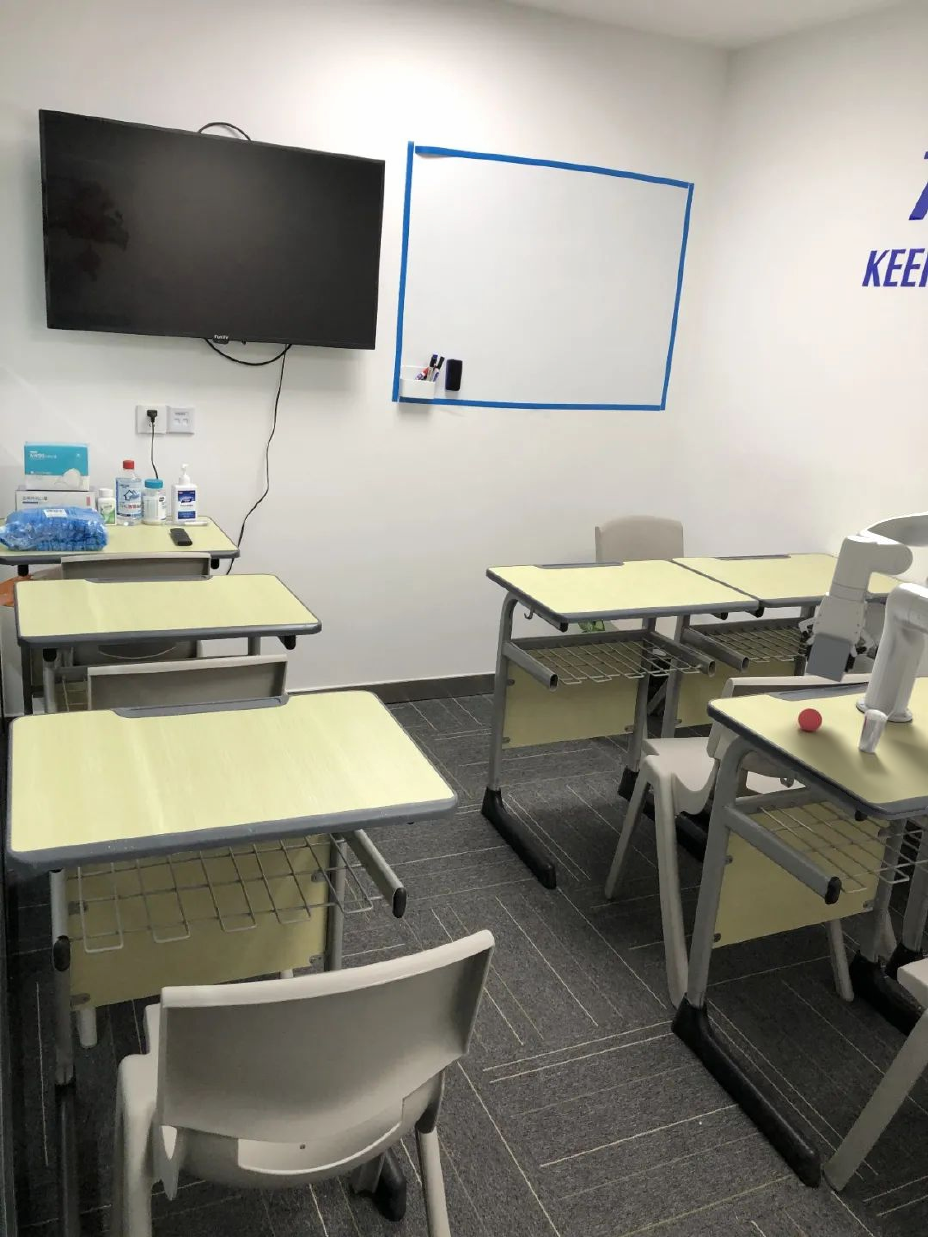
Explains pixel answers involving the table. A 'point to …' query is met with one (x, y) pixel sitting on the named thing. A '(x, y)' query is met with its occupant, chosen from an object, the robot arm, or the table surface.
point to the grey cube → (828, 658)
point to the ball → (810, 719)
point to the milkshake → (872, 730)
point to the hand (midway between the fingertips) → (827, 665)
